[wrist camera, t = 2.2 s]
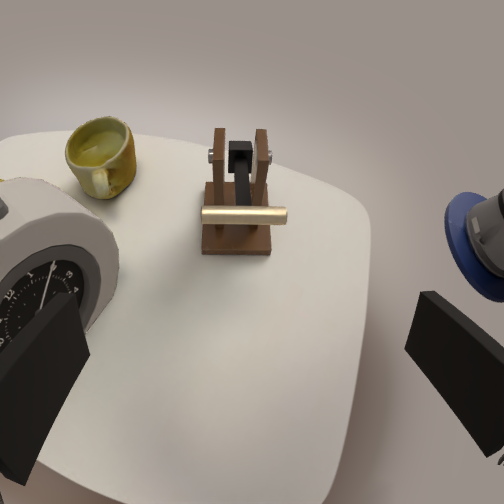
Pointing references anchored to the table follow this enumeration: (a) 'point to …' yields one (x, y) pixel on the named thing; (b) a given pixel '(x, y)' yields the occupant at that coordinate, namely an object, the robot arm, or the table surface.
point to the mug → (102, 156)
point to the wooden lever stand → (223, 194)
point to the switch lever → (242, 195)
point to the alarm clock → (50, 255)
